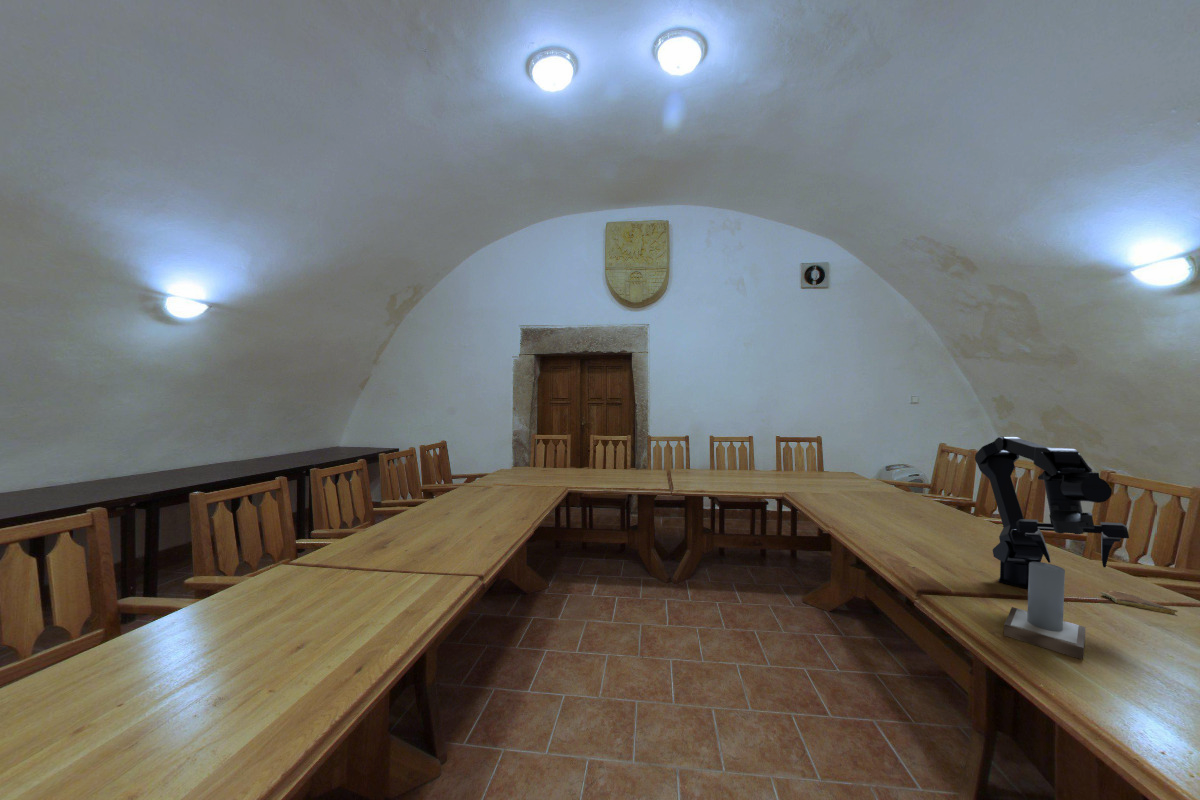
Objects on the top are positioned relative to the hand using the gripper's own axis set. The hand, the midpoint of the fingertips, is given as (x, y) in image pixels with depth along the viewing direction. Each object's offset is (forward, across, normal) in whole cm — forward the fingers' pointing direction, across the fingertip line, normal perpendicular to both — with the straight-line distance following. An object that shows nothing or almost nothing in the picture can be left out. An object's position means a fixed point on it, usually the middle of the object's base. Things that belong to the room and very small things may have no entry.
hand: (1076, 564), depth 109 cm
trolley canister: (+10, -6, -18) cm, 22 cm away
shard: (+13, +9, +22) cm, 27 cm away
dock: (+13, -7, -18) cm, 23 cm away
